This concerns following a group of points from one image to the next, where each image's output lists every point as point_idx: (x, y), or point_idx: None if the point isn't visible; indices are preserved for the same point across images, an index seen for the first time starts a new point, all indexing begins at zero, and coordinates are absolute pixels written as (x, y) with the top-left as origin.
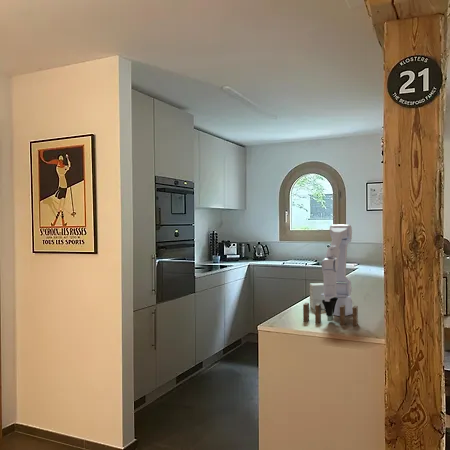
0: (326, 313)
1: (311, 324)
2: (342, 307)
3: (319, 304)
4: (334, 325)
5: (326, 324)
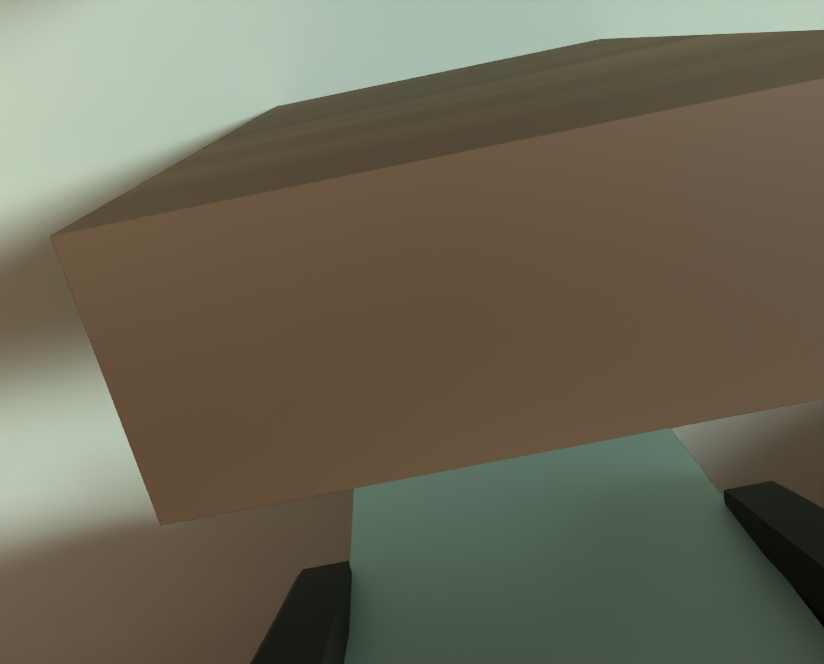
0: (273, 632)
1: (14, 87)
2: None
3: (639, 403)
4: None
5: None
